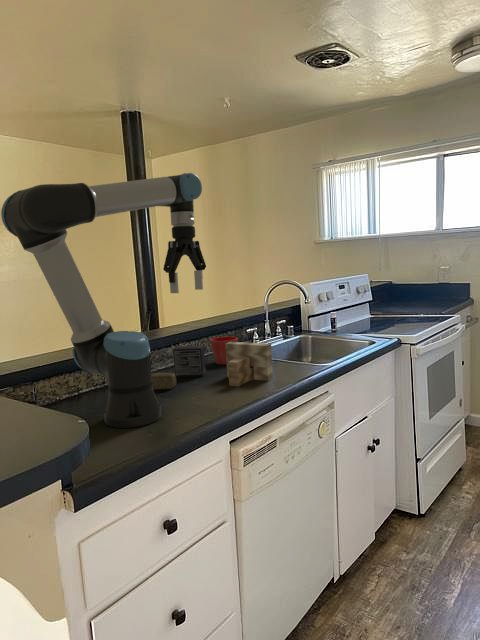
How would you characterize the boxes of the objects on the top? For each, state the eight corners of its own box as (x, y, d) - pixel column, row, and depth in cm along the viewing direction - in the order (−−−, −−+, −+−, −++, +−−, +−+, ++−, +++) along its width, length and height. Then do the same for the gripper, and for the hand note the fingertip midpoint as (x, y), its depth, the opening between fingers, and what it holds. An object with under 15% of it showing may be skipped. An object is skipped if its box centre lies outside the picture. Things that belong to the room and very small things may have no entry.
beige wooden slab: (272, 378, 166) (271, 343, 164) (268, 380, 163) (266, 345, 161) (232, 374, 174) (230, 341, 172) (227, 377, 171) (225, 343, 169)
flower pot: (213, 360, 200) (211, 336, 198) (239, 358, 199) (238, 335, 198) (210, 366, 189) (208, 341, 188) (238, 364, 189) (237, 340, 187)
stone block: (173, 390, 159) (172, 375, 158) (139, 391, 160) (137, 376, 159) (177, 385, 164) (176, 371, 164) (144, 386, 166) (143, 372, 165)
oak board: (238, 386, 158) (237, 362, 157) (229, 385, 160) (227, 361, 159) (268, 370, 177) (267, 349, 176) (260, 369, 179) (259, 348, 178)
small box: (206, 372, 180) (204, 344, 178) (203, 376, 173) (201, 348, 172) (178, 373, 181) (176, 345, 180) (174, 377, 175) (172, 349, 173)
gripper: (168, 224, 145) (172, 294, 148) (213, 226, 166) (217, 288, 169) (148, 225, 149) (153, 294, 152) (195, 227, 170) (199, 288, 173)
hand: (187, 291), depth 160 cm, fingers open, 13 cm apart
